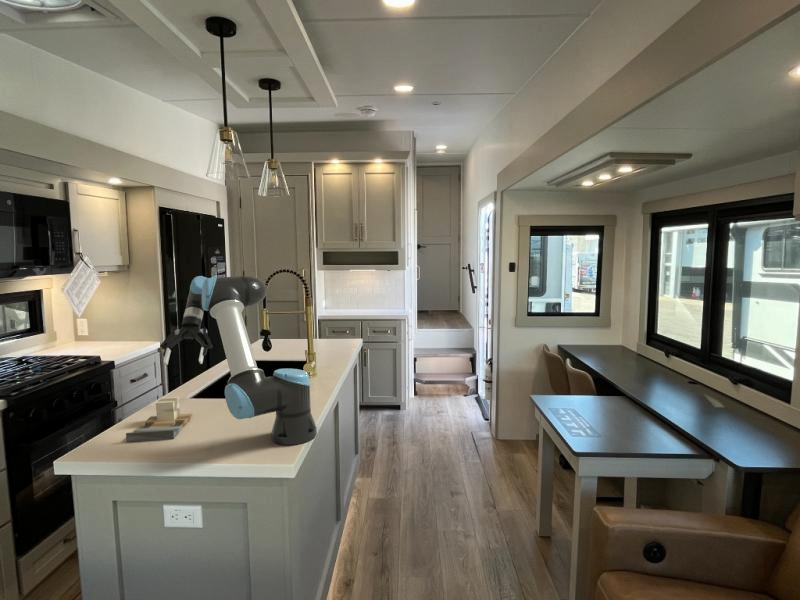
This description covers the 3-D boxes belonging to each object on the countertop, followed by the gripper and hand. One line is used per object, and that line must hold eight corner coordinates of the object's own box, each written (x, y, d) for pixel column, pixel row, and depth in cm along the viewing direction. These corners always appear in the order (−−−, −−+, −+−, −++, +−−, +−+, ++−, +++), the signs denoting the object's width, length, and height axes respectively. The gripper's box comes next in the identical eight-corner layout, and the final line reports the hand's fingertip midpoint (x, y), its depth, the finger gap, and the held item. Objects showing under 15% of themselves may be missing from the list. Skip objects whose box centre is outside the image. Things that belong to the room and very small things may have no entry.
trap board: (151, 419, 171) (150, 412, 170) (192, 417, 173) (192, 409, 172) (126, 442, 151) (125, 433, 150) (173, 438, 153) (172, 430, 152)
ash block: (163, 415, 171) (162, 397, 170) (179, 414, 172) (178, 396, 171) (157, 421, 165) (155, 403, 164) (174, 420, 166) (172, 402, 165)
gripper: (224, 324, 200) (216, 366, 188) (165, 325, 197) (153, 368, 184) (220, 314, 194) (212, 357, 182) (159, 315, 191) (147, 359, 178)
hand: (183, 362), depth 183 cm, fingers open, 13 cm apart
